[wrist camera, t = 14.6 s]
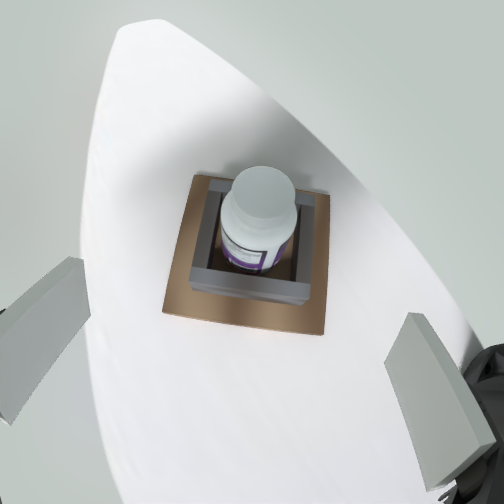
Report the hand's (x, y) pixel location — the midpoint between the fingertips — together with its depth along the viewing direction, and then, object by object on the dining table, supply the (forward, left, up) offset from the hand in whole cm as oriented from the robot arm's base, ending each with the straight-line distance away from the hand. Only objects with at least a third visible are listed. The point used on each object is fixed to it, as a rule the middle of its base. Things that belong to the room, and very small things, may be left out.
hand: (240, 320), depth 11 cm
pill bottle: (0, -9, -14) cm, 17 cm away
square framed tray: (-1, -9, -15) cm, 17 cm away
